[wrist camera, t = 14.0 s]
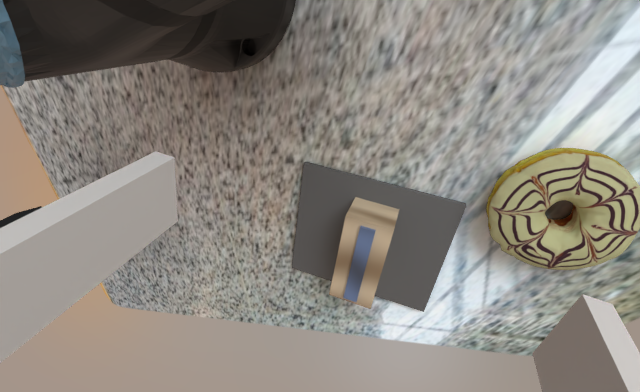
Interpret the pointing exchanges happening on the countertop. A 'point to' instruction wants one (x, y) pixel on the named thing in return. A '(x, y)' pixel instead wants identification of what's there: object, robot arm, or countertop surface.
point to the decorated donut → (581, 225)
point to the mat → (407, 240)
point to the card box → (363, 251)
